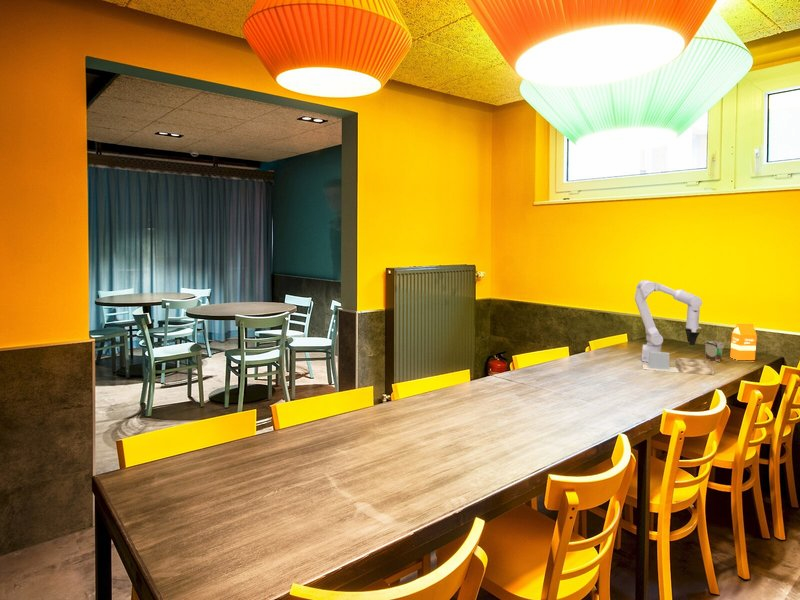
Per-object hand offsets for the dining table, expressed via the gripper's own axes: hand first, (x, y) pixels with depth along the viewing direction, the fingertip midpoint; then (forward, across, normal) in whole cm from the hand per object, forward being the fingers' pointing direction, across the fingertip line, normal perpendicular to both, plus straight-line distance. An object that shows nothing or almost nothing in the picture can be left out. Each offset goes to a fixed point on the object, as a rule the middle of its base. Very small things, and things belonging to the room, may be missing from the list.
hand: (691, 343), depth 278 cm
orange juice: (+11, +21, -28) cm, 37 cm away
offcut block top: (+8, -22, 0) cm, 24 cm away
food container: (+11, +12, -14) cm, 21 cm away
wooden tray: (+10, -15, 0) cm, 18 cm away
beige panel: (+10, -22, +16) cm, 29 cm away
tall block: (+10, -22, +17) cm, 29 cm away
